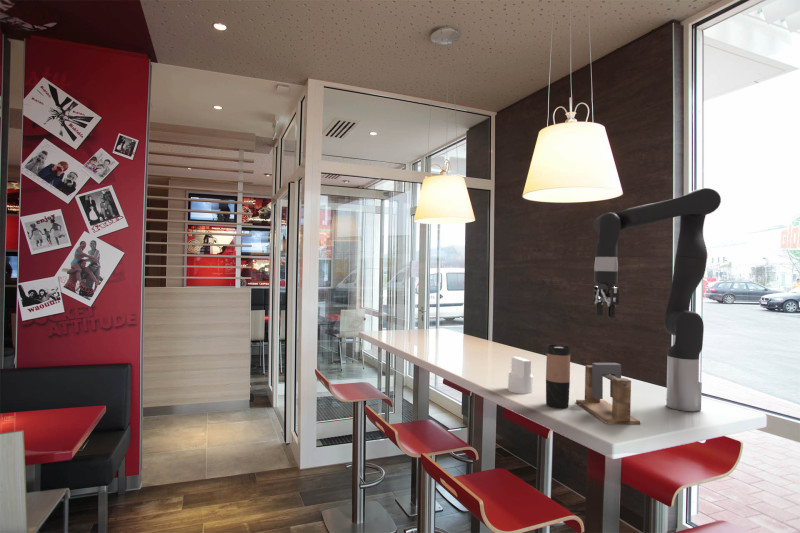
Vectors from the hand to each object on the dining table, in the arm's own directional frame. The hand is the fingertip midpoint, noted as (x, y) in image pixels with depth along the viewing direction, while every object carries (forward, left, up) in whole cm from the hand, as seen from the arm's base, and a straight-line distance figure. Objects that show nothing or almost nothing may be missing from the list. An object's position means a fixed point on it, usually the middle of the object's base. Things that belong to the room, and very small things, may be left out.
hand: (604, 316), depth 160 cm
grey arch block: (+5, +12, -25) cm, 28 cm away
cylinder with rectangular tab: (+25, -14, -30) cm, 42 cm away
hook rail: (+5, +12, -30) cm, 33 cm away
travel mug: (+18, +5, -30) cm, 36 cm away
